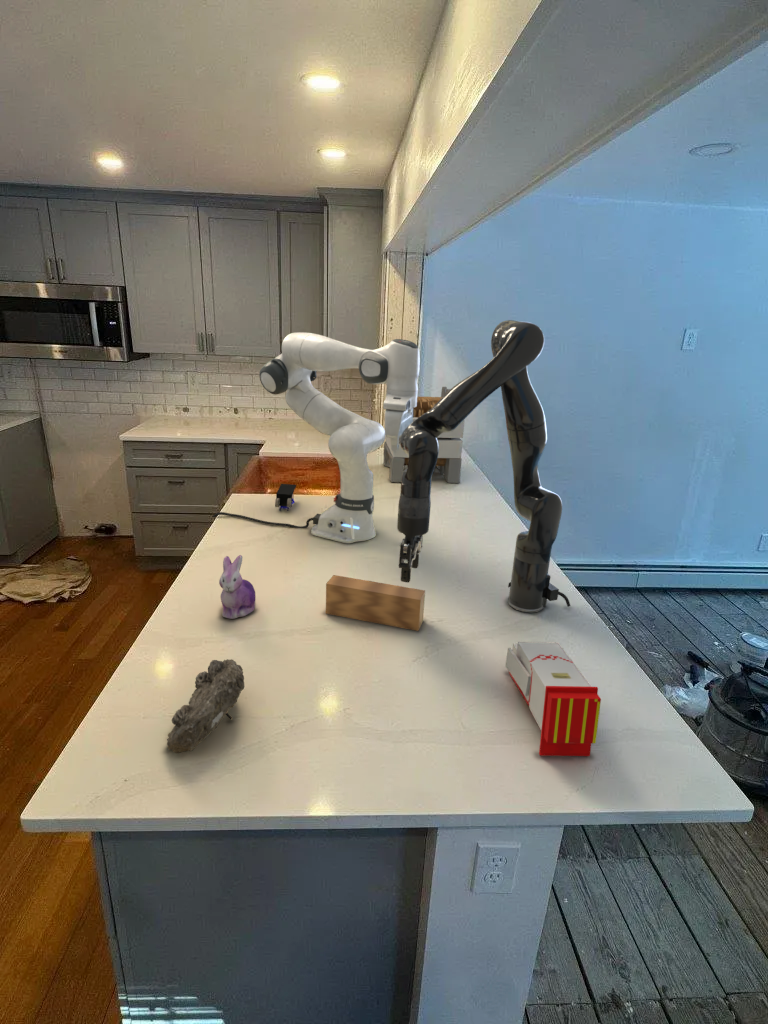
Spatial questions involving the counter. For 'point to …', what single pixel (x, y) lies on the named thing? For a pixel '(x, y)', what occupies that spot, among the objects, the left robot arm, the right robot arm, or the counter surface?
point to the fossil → (206, 705)
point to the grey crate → (447, 443)
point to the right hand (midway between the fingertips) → (409, 574)
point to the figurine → (235, 590)
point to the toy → (556, 697)
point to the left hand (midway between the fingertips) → (398, 447)
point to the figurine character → (285, 496)
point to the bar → (375, 602)
